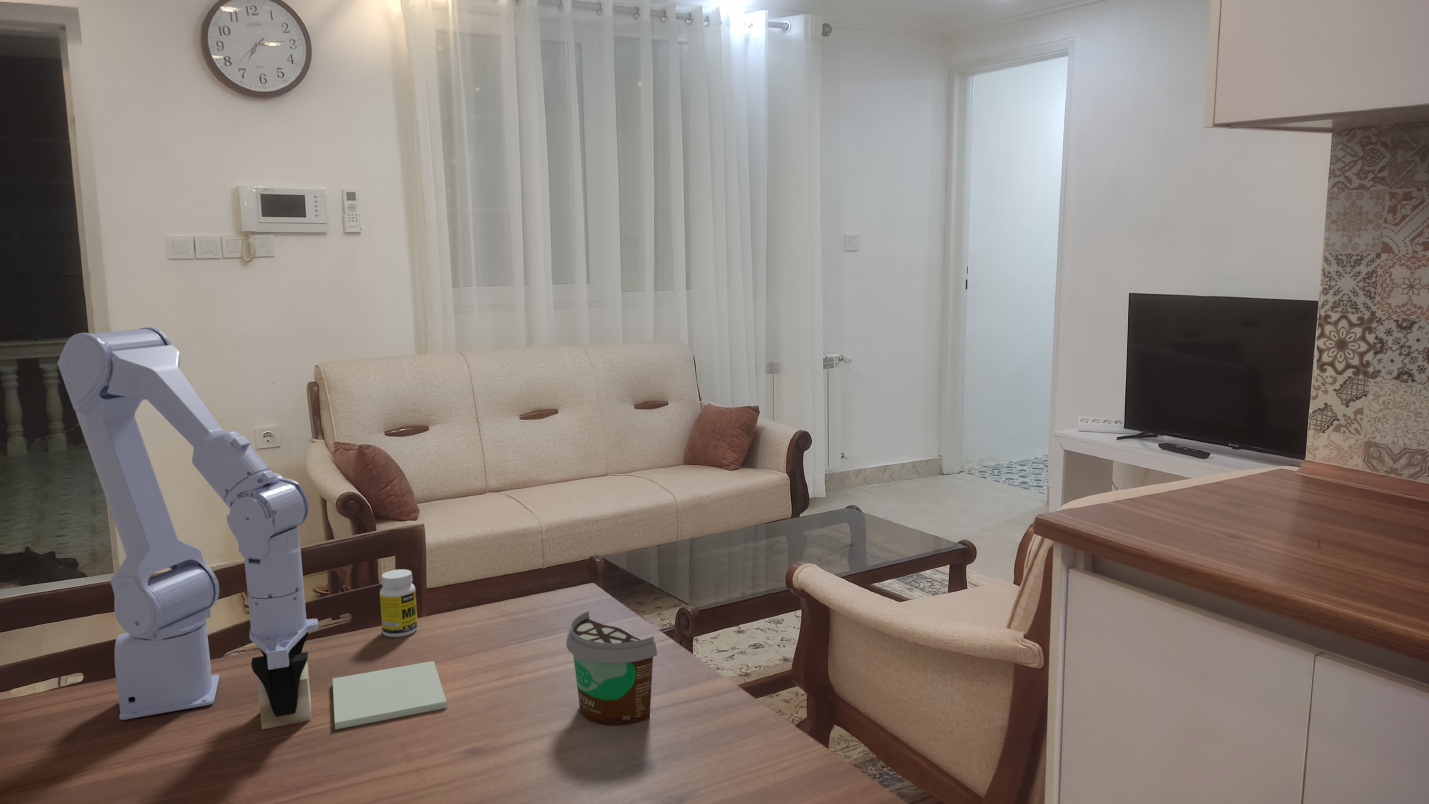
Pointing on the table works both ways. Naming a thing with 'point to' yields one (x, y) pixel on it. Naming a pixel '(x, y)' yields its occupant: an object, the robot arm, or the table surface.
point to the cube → (300, 715)
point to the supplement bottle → (398, 603)
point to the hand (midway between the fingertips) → (286, 703)
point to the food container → (611, 672)
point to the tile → (387, 694)
